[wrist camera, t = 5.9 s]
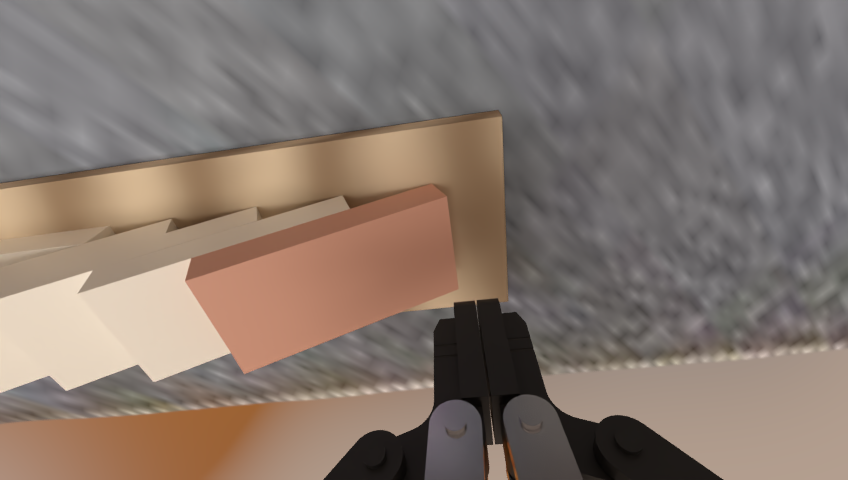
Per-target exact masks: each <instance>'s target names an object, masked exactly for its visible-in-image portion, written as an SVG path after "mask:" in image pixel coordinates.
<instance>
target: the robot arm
mask: <svg viewBox="0 0 848 480" xmlns="http://www.w3.org/2000/svg"><path fill="white" fill-rule="evenodd" d="M477 312H478V319H477ZM477 312H476V305H475V300H473V301H463V302H454V315H455V318H450V319H440V320H439V322H438V324H437V326H436V328H435V330H434V406H433V410H432V412H431V414H430V416H429V417H428V418H427V420H426V421H425V422H424V423H423V424H422V425H420V426H419V427H417V428H415V429H413V430H411V431H408V432H406V433H404V434H401V435H399V436H397V437H396V436H395V435H394V434H392V433H391V432H388V431H384V430H377V431H372V432H369V433H367V434H366V435H364V436H363V437H361V438H360V439H359V440H358V441H357V442H356V443H355V445H354V446H353V447H352V448H351V449H350V450H349V451H348V452H347V454H346V455H345V456H344V457H343V458H342V459H341V460H340V461H339V463H338V464H337V465H336V466H335V467H334V468H333V469H332V471H331V472H330V473H329V474H328V475H327V476H326V478H324V480H488V474H489V460H488V450H487V445H493V439H492V427H491V418H492V425H493V431H494V438H495V444H503V448H504V454H505V461H506V473H507V478H508V480H723V479H721V478H720V477H719V476H717V475H716V474H714V473H713V472H711V471H710V470H708V469H707V468H706V467H704V466H703V465H701V464H700V463H698V462H697V461H696V460H694V459H693V458H691V457H690V456H689V455H687V454H686V453H684V452H683V451H681V450H680V449H679V448H677V447H675V446H674V445H673V444H671V443H670V442H668V441H667V440H666V439H664V438H663V437H661V436H660V435H658V434H657V433H655V432H654V431H653V430H651V429H650V428H648V427H647V426H646V425H644V424H643V423H641V422H639V421H638V420H635V419H633V418H630V417H627V416H621V415H615V416H609V417H607V418H605V419H603V420H602V421H601V422H600V423H595V422H591V421H587V420H583V419H579V418H575V417H572V416H570V415H568V414H566V413H564V412H562V411H561V410H560V409H558V408H557V407H556V406H555V405H554V404H553V403H552V401H551V400H550V398H549V397H548V395H547V392H546V389H545V386H544V382H543V379H542V375H541V372H540V369H539V365H538V362H537V359H536V355H535V352H534V350H533V345H532V342H531V339H530V335H529V331H528V328H527V325H526V323H525V321H524V320H523V319H522V318H521V317H520V316H519V315H518V314H517V312H512V313H502V312H501V308H500V304H499V300H498V298H492V299H482V300H477ZM478 322H479V326H478ZM479 332H480V333H479ZM490 411H491V416H490Z"/></svg>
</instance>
